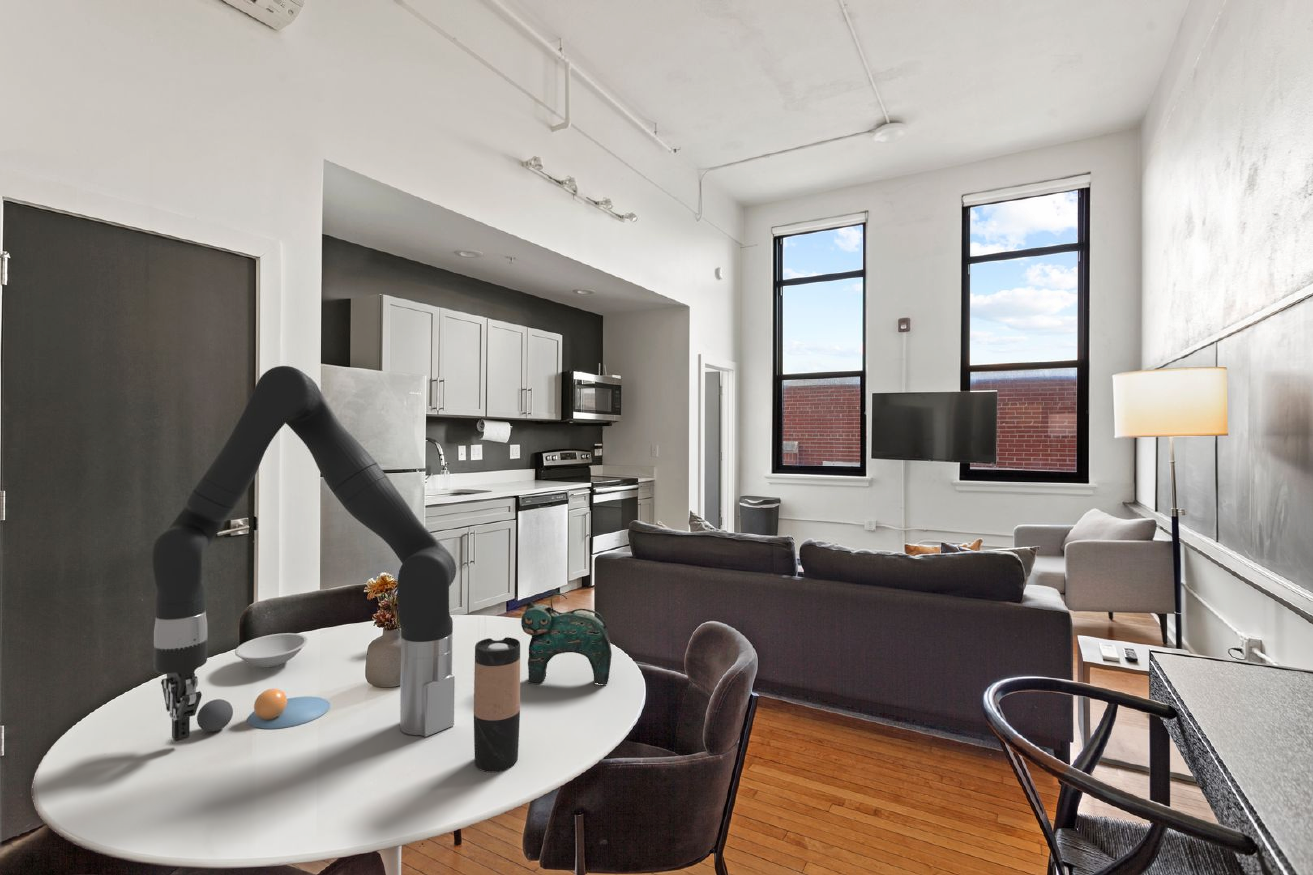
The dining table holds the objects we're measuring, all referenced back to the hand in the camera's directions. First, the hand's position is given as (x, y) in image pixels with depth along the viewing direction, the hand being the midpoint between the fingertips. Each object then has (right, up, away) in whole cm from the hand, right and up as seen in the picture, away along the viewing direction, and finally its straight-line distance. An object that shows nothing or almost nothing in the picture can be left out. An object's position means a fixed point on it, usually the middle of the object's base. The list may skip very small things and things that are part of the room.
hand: (180, 738), depth 113 cm
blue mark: (+11, -2, +14) cm, 18 cm away
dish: (-7, -1, +38) cm, 39 cm away
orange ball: (+9, +1, +11) cm, 15 cm away
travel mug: (+56, -3, -3) cm, 56 cm away
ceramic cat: (+63, -2, +32) cm, 71 cm away
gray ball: (+2, +1, +6) cm, 7 cm away
